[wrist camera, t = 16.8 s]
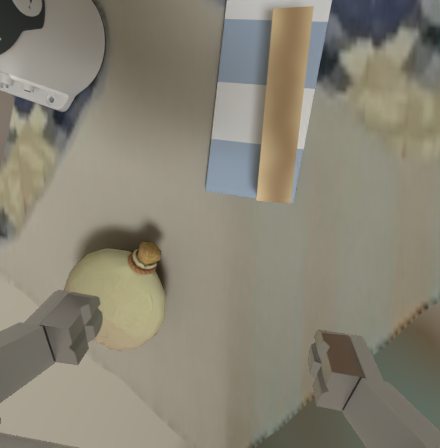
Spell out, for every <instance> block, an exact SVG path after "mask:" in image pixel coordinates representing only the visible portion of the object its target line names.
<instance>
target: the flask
mask: <svg viewBox="0 0 440 448" xmlns="http://www.w3.org/2000/svg"><path fill="white" fill-rule="evenodd" d="M160 259H161V250H160V249H159V248H158V247H157V246H156V245H154V244H153V243H151V242H142V243H140V247H139V249H135V251H134V252H129V251H125V250H118V249H102V250H99V251H95V252H92V253H89V254H87V255H86V256H85V257H84V258H83V259H81V260H80V261H79V262H78V263H77V264H76V265H75V266H74V268H73V269H72V270H71V272H70V274H69V276H68V279H67V282H66V285H65V288H64V291H69V292H76V293H81V294H87V295H92V296H97V297H99V299H100V303H101V304H100V306H99V307H98V309H99V310H100V311H101V312H102V315H103V322H102V326H101V329H100V331H99V333H98V335H97V336H96V338H94V339H93V340H94V341H95V342H97V343H98V344H100V345H102V346H105V347H107V348H109V349H112V350H118V351H121V350H129V349H135V348H137V347H139V346H142V345H143V344H144V343H146V342H147V341H148V340H150V339H151V338H152V337H153V336H155V335H156V334H157V332H158V329H159V327H160V325H161V323H162V321H163V319H164V315H165V291H164V289H163V287H162V284H161V282H160V280H159V277H158V275H157V273H156V271H155V270H156V267H157V263H156V262H157V261H159V260H160Z"/></svg>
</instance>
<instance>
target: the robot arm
mask: <svg viewBox="0 0 440 448" xmlns="http://www.w3.org/2000/svg"><path fill="white" fill-rule="evenodd" d="M104 50H105V35H104V28H103V23H102V20H101V17H100V14H99V12H98V10H97V8H96V6H95V5H94V3H93V2H92V0H0V91H3V92H6V93H9V94H11V95H14V96H17V97H20V98H23V99H26V100H29V101H32V102H35V103H37V104H40V105H43V106H46V107H49V108H52V109H55V110H58V111H61V112H64V111H66V110H67V109H68V108H69V107H70V105H71V103H72V102H73V100H74V98H75V96H76V95H77V94H78V93H80V92H81V91H82V90H84V89H85V88H86V87H88V86H89V85H90V83H91V82H92V81H93V80H94V78H95V77H96V75H97V73H98V71H99V69H100V67H101V64H102V61H103V56H104ZM53 99H54V102H53ZM100 304H101V303H100V299H99V297H97V296H92V295H87V294H81V293H76V292H69V291H63V290H58V291H56V292H54V293H53V294H52V295H51V296H50V297H49V298H48V299H47V300H46V301H45V302H44V303H43V304H42V305H41V306H40V307H39V308H38V309H37V310H36V311H35V312H34V313H33V314H32V315H31V316H30V317H29V318H28V319H27V320H26V321H25V322H24V323H17V324H15V325H13V326H11V327H9V328H7V329H5V330H2V331H0V403H1V402H2V401H3V400H5V399H6V398H8V397H9V396H11V395H12V394H13V393H15V392H16V391H17V390H19V389H20V388H22V387H23V386H24V385H26V384H27V383H28V382H30V381H31V380H32V379H34V378H35V377H36V376H38V375H39V374H41V373H42V372H43V371H45V370H46V369H47V368H49V367H50V366H51V365H53V364H54V363H55V362H60V363H67V364H74V365H78V364H79V363H80V361H81V359H82V358H83V357H84V355H85V353H86V352H87V350H88V349H89V346H88V342H90V341H91V340H93V339H94V338H96V336H97V335H98V333H99V331H100V329H101V326H102V322H103V315H102V312H101V311H100V310H99V309H98V307H99V306H100ZM314 339H315V343H314V344H312V345H311V347H310V350H309V356H308V364H309V371H310V374H311V375H312V376H313V377H314V379H315V381H314V383H313V385H312V386H313V391H314V396H315V401H316V405H317V406H320V407H325V408H330V409H335V410H340V411H343V412H342V413H343V414H344V415H345V417H346V419H347V420H348V421H349V423H350V424H351V426H352V427H353V429H354V430H355V432H356V433H357V434H358V436H359V437H360V439H361V440H362V442H363V443H364V445H365V446H366V447H367V448H440V431H439V430H438V429H437V428H435V427H434V426H433V425H432V424H431V423H430V422H429V421H428V420H427V419H426V418H425V417H424V416H423V415H422V414H421V413H420V412H419V411H418V410H417V409H416V408H415V407H414V406H413V405H411V404H410V403H409V402H408V401H407V400H406V399H405V398H404V397H403V396H402V395H401V394H400V393H399V392H398V391H397V390H396V389H395V388H394V387H393V386H392V385H391V384H390V383H389V382H384V381H383V379H382V377H381V374H380V372H379V370H378V368H377V366H376V363H375V361H374V359H373V357H372V354H371V352H370V350H369V348H368V346H367V343H366V341H365V339H364V338H363V337H362V336H357V335H350V334H344V333H337V332H330V331H323V330H318V331H316V333H315V336H314ZM0 424H1V418H0ZM0 448H78V447H73V446H68V445H62V444H57V443H52V442H47V441H41V440H36V439H31V438H25V437H20V436H15V435H10V434H5V433H0Z"/></svg>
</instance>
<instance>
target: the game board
mask: <svg viewBox="0 0 440 448" xmlns="http://www.w3.org/2000/svg"><path fill="white" fill-rule="evenodd" d="M331 3H332V0H227V4H226V13H225V21H224V30H223V39H222V48H221V57H220V66H219V75H218V84H217V93H216V102H215V111H214V120H213V129H212V138H211V147H210V156H209V165H208V174H207V183H206V191H210V192H217V193H224V194H230V195H237V196H244V197H250V198H257V188H258V177H259V165H260V154H261V143H262V131H263V120H264V109H265V97H266V86H267V75H268V63H269V52H270V41H271V29H272V18H273V8H291V7H309V6H314V8H313V17H312V25H311V34H310V42H309V51H308V59H307V68H306V76H305V85H304V93H303V102H302V110H301V119H300V128H299V136H298V145H297V153H296V162H295V170H294V179H293V187H292V196H291V203H290V204H293V201H294V196H295V191H296V185H297V180H298V175H299V170H300V164H301V159H302V154H303V149H304V144H305V138H306V133H307V128H308V123H309V117H310V112H311V107H312V102H313V97H314V91H315V86H316V81H317V76H318V70H319V65H320V60H321V55H322V50H323V44H324V39H325V34H326V29H327V23H328V18H329V13H330V8H331Z"/></svg>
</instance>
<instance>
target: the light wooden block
mask: <svg viewBox="0 0 440 448" xmlns="http://www.w3.org/2000/svg"><path fill="white" fill-rule="evenodd" d="M313 8H314V6H309V7H291V8H273V18H272V29H271V41H270V52H269V63H268V75H267V86H266V97H265V109H264V120H263V131H262V143H261V154H260V165H259V177H258V188H257V199H256V201H268V202H280V203H291V196H292V187H293V179H294V170H295V162H296V153H297V145H298V136H299V128H300V119H301V110H302V102H303V93H304V85H305V76H306V68H307V59H308V51H309V42H310V34H311V25H312V17H313Z"/></svg>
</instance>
